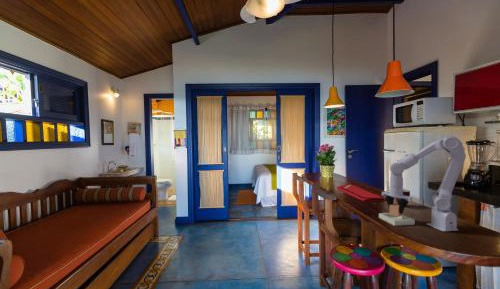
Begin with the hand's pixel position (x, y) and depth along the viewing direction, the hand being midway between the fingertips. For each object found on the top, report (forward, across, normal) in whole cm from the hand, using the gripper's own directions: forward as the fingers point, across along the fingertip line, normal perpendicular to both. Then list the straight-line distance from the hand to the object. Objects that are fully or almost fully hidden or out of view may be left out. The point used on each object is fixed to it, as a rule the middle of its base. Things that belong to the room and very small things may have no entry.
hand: (396, 212), depth 130 cm
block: (+2, 0, 0) cm, 2 cm away
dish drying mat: (+6, +47, -36) cm, 60 cm away
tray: (+5, 0, 0) cm, 5 cm away
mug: (+5, +12, -30) cm, 33 cm away
